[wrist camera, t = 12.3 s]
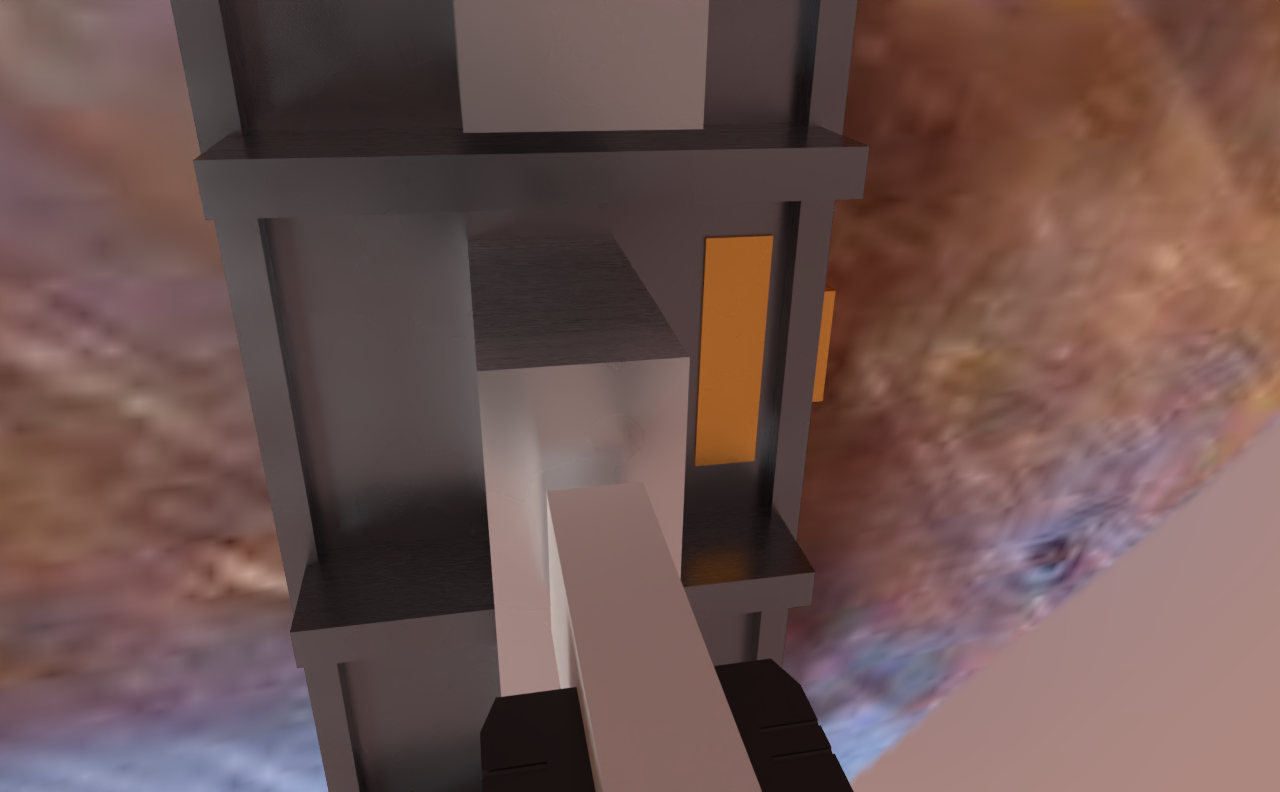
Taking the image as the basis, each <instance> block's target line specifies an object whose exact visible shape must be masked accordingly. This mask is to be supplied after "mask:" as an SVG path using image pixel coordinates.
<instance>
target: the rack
mask: <svg viewBox="0 0 1280 792" xmlns="http://www.w3.org/2000/svg"><path fill="white" fill-rule="evenodd" d="M170 1H171V6H172V11H173V16H174V21H175V26H176V31H177V36H178V41H179V46H180V51H181V56H182V61H183V66H184V71H185V76H186V81H187V86H188V91H189V96H190V101H191V106H192V111H193V116H194V121H195V126H196V131H197V136H198V141H199V146H200V151H201V155H200V156H198V157H197V158H196V159H194V160H193V162H194V166H195V171H196V176H197V181H198V186H199V191H200V196H201V201H202V206H203V210H204V215H205V220H214V221H215V226H216V231H217V236H218V241H219V246H220V251H221V256H222V261H223V266H224V271H225V276H226V281H227V286H228V291H229V296H230V301H231V306H232V311H233V316H234V321H235V326H236V331H237V336H238V341H239V346H240V351H241V356H242V361H243V366H244V371H245V376H246V381H247V386H248V391H249V396H250V401H251V406H252V411H253V416H254V421H255V426H256V431H257V436H258V441H259V446H260V451H261V456H262V461H263V466H264V471H265V476H266V481H267V486H268V491H269V496H270V501H271V506H272V511H273V516H274V521H275V526H276V531H277V536H278V541H279V546H280V551H281V556H282V561H283V566H284V571H285V576H286V581H287V586H288V591H289V596H290V601H291V606H292V611H293V616H294V618H293V622H292V626H291V630H290V635H291V640H292V645H293V650H294V655H295V660H296V665H297V668H302V667H304V671H305V676H306V681H307V686H308V691H309V696H310V701H311V706H312V711H313V716H314V721H315V726H316V731H317V736H318V741H319V746H320V751H321V756H322V761H323V766H324V771H325V776H326V781H327V786H328V791H329V792H482V769H481V746H480V732H481V729H482V727H483V725H484V723H485V720H486V718H487V716H488V714H489V712H490V709H491V707H492V705H493V703H494V700H495V698H497V697H501V687H500V673H499V660H498V647H497V633H496V620H495V606H494V593H493V579H492V566H491V553H490V539H489V526H488V512H487V499H486V485H485V472H484V459H483V445H482V432H481V418H480V405H479V391H478V378H477V364H476V351H475V338H474V324H473V311H472V297H471V284H470V270H469V257H468V244H467V241H475V240H500V239H526V238H551V237H576V236H601V235H613V236H614V238H615V239H616V241H617V243H618V244H619V246H620V247H621V249H622V250H623V252H624V254H625V255H626V257H627V258H628V260H629V262H630V263H631V265H632V266H633V268H634V269H635V271H636V273H637V274H638V276H639V277H640V279H641V281H642V282H643V284H644V285H645V287H646V288H647V290H648V292H649V293H650V295H651V296H652V298H653V300H654V301H655V303H656V304H657V306H658V307H659V309H660V311H661V312H662V314H663V315H664V317H665V319H666V320H667V322H668V323H669V325H670V326H671V328H672V330H673V331H674V333H675V334H676V336H677V338H678V339H679V341H680V342H681V344H682V345H683V347H684V349H685V350H686V352H687V353H688V355H689V357H690V365H689V389H688V413H687V436H686V460H685V484H684V507H683V531H682V555H681V578H680V580H681V582H682V585H683V588H684V590H685V593H686V595H687V598H688V601H689V603H690V606H691V608H692V611H693V614H694V616H695V619H696V621H697V624H698V627H699V629H700V632H701V634H702V637H703V640H704V642H705V645H706V647H707V650H708V653H709V655H710V658H711V660H712V663H713V666H717V665H725V664H732V663H740V662H747V661H755V660H762V659H770V658H771V659H772V660H773V661H775V662H776V663H777V664H778V665H779V666H780V667H781V668H782V663H783V655H784V646H785V637H786V628H787V619H788V610H789V608H793V607H801V606H809V605H811V602H812V594H813V586H814V578H815V571H814V569H813V568H812V566H811V565H810V563H809V561H808V560H807V558H806V556H805V555H804V553H803V552H802V550H801V548H800V547H799V545H798V543H797V542H796V540H797V531H798V522H799V513H800V505H801V496H802V487H803V478H804V469H805V461H806V452H807V443H808V434H809V425H810V416H811V408H812V402H818V401H823V393H824V385H825V376H826V368H827V360H828V351H829V343H830V334H831V326H832V318H833V309H834V301H835V293H836V291H835V290H834V289H833V288H831V287H830V286H829V285H828V284H826V275H827V267H828V258H829V249H830V240H831V231H832V223H833V214H834V205H835V200H846V199H863V193H864V185H865V177H866V169H867V162H868V154H869V146H867V145H864V144H862V143H860V142H857V141H855V140H852V139H850V138H847V137H845V136H843V135H842V134H843V126H844V117H845V108H846V99H847V90H848V81H849V73H850V64H851V55H852V46H853V37H854V29H855V20H856V11H857V2H858V0H170Z"/></svg>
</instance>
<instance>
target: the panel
mask: <svg viewBox="0 0 1280 792" xmlns="http://www.w3.org/2000/svg"><path fill="white" fill-rule="evenodd" d="M467 244H468V257H469V270H470V284H471V297H472V311H473V324H474V338H475V351H476V364H477V378H478V391H479V405H480V418H481V432H482V445H483V459H484V472H485V485H486V499H487V512H488V526H489V539H490V553H491V566H492V579H493V593H494V606H495V620H496V633H497V647H498V660H499V673H500V687H501V697H504V696H512V695H519V694H526V693H534V692H541V691H549V690H556V689H561V687H560V681H559V675H558V669H557V662H556V656H555V650H554V643H553V637H552V630H551V603H550V576H549V548H548V521H547V494H546V491H549V490H560V489H571V488H582V487H593V486H604V485H615V484H626V483H637V482H643V484H644V486H645V489H646V491H647V494H648V497H649V499H650V502H651V504H652V507H653V510H654V512H655V515H656V517H657V520H658V523H659V525H660V528H661V530H662V533H663V536H664V538H665V541H666V543H667V546H668V549H669V551H670V554H671V556H672V559H673V562H674V564H675V567H676V569H677V572H678V575H679V577H680V578H681V555H682V531H683V507H684V484H685V460H686V436H687V413H688V389H689V365H690V357H689V355H688V353H687V352H686V350H685V349H684V347H683V345H682V344H681V342H680V341H679V339H678V338H677V336H676V334H675V333H674V331H673V330H672V328H671V326H670V325H669V323H668V322H667V320H666V319H665V317H664V315H663V314H662V312H661V311H660V309H659V307H658V306H657V304H656V303H655V301H654V300H653V298H652V296H651V295H650V293H649V292H648V290H647V288H646V287H645V285H644V284H643V282H642V281H641V279H640V277H639V276H638V274H637V273H636V271H635V269H634V268H633V266H632V265H631V263H630V262H629V260H628V258H627V257H626V255H625V254H624V252H623V250H622V249H621V247H620V246H619V244H618V243H617V241H616V239H615V238H614V236H613V235H601V236H576V237H551V238H526V239H500V240H475V241H467Z"/></svg>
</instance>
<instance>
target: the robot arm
mask: <svg viewBox="0 0 1280 792" xmlns="http://www.w3.org/2000/svg"><path fill="white" fill-rule="evenodd" d="M546 494H547V521H548V548H549V576H550V603H551V630H552V637H553V643H554V650H555V656H556V662H557V669H558V675H559V681H560V687H561V689H556V690H549V691H541V692H534V693H526V694H519V695H512V696H504V697H497V698H495V700H494V703H493V705H492V707H491V709H490V712H489V714H488V716H487V718H486V720H485V723H484V725H483V727H482V729H481V732H480V746H481V769H482V792H853V790H852V788H851V786H850V784H849V782H848V780H847V778H846V776H845V774H844V772H843V770H842V768H841V766H840V764H839V762H838V760H837V758H836V755H835V754H832V751H831V745H830V743H829V741H828V739H827V737H826V735H825V733H824V731H823V729H822V727H821V726H819V725H818V722H817V717H816V715H815V713H814V711H813V709H812V707H811V705H810V703H809V701H808V699H807V697H806V695H805V693H804V691H803V689H802V687H801V685H800V684H799V683H798V682H797V681H795V680H794V679H793V678H792V677H791V676H790V675H789V674H788V673H787V672H786V671H784V670H783V669H782V668H781V667H780V666H779V665H778V664H777V663H776V662H775V661H773V660H772V659H771V658H770V659H762V660H755V661H747V662H740V663H732V664H725V665H717V666H713V663H712V660H711V658H710V655H709V653H708V650H707V647H706V645H705V642H704V640H703V637H702V634H701V632H700V629H699V627H698V624H697V621H696V619H695V616H694V614H693V611H692V608H691V606H690V603H689V601H688V598H687V595H686V593H685V590H684V588H683V585H682V582H681V580H680V577H679V575H678V572H677V569H676V567H675V564H674V562H673V559H672V556H671V554H670V551H669V549H668V546H667V543H666V541H665V538H664V536H663V533H662V530H661V528H660V525H659V523H658V520H657V517H656V515H655V512H654V510H653V507H652V504H651V502H650V499H649V497H648V494H647V491H646V489H645V486H644V484H643V482H637V483H626V484H615V485H604V486H593V487H582V488H571V489H560V490H549V491H546Z"/></svg>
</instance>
